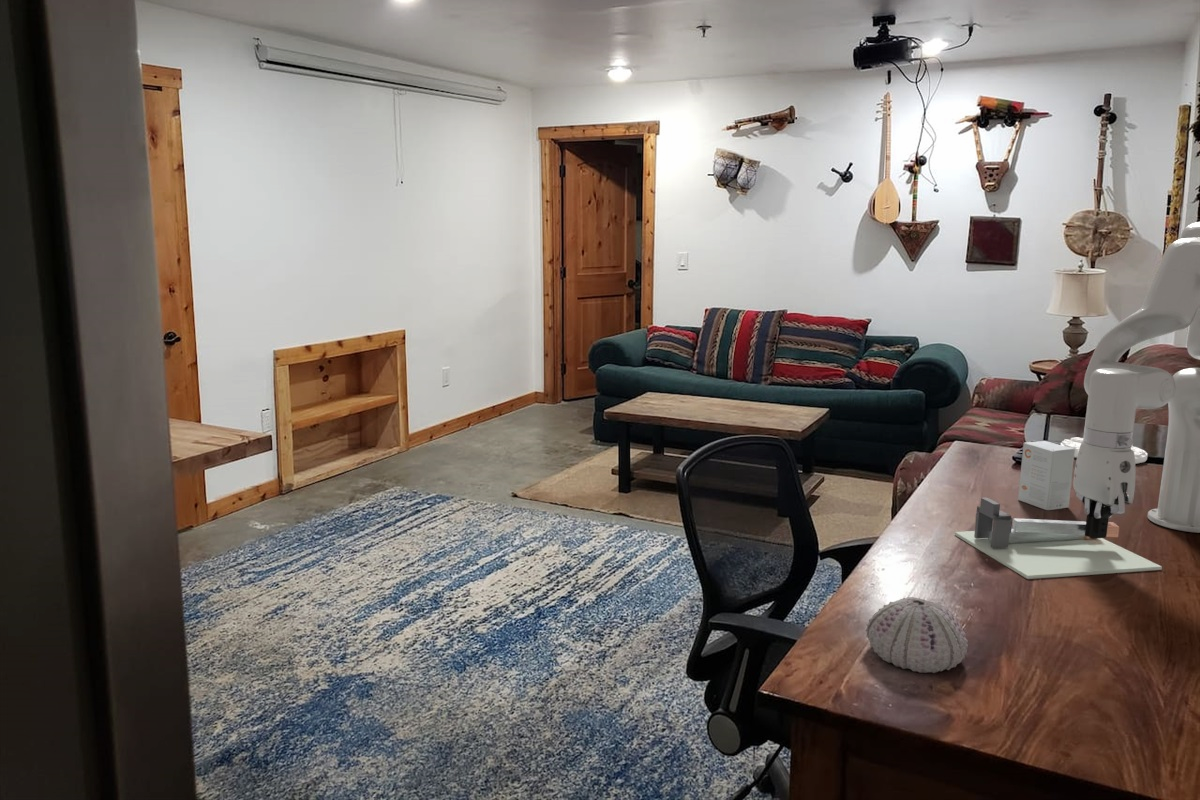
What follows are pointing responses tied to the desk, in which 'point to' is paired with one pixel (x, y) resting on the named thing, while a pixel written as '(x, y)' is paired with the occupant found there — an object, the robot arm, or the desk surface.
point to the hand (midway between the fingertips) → (1095, 536)
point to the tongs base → (1037, 536)
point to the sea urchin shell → (917, 635)
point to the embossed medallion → (1076, 442)
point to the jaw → (1058, 527)
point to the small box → (1046, 475)
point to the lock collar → (992, 515)
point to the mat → (1062, 557)
